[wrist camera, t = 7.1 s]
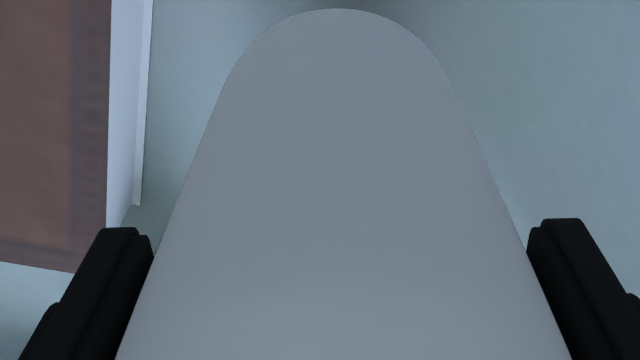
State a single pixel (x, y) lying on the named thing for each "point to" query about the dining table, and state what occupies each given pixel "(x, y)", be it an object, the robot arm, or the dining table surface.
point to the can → (340, 215)
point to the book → (69, 124)
